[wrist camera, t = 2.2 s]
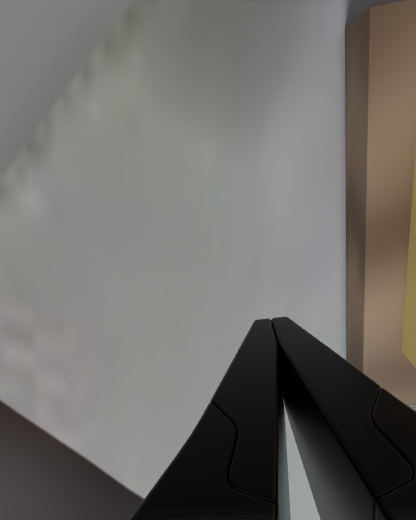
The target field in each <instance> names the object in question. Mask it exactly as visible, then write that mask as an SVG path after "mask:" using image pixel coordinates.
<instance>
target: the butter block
mask: <svg viewBox="0 0 416 520" xmlns="http://www.w3.org/2000/svg"><path fill="white" fill-rule="evenodd" d="M401 351H402V352H403V353H404V355H405V356H406V357H407V358H408V360H409V361H410V362H411V363H412V365H413V366H414V367H415V368H416V150H415V165H414V179H413V193H412V207H411V221H410V235H409V249H408V263H407V277H406V292H405V306H404V320H403V334H402V348H401Z"/></svg>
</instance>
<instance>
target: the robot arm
mask: <svg viewBox="0 0 416 520" xmlns="http://www.w3.org/2000/svg"><path fill="white" fill-rule="evenodd" d="M283 400H284V401H283ZM284 405H285V408H286V412H287V415H288V419H289V422H290V425H291V428H292V431H293V434H294V437H295V441H296V444H297V447H298V450H299V453H300V456H301V459H302V463H303V466H304V469H305V472H306V475H307V478H308V481H309V484H310V488H311V491H312V494H313V497H314V500H315V503H316V506H317V510H318V513H319V516H320V519H321V520H416V411H415V410H413V409H412V408H410V407H409V406H408V405H406V404H405V403H403V402H402V401H401V400H399V399H398V398H396V397H395V396H394V395H392V394H391V393H390V392H388V391H387V390H386V389H384V388H381V386H380V385H379V384H377V383H376V382H374V381H373V380H372V379H370V378H369V377H368V376H366V375H365V374H364V373H362V372H361V371H360V370H358V369H357V368H356V367H354V366H353V365H352V364H350V363H349V362H347V361H346V360H345V359H343V358H342V357H341V356H339V355H338V354H337V353H335V352H334V351H333V350H331V349H330V348H329V347H327V346H326V345H325V344H323V343H322V342H320V341H319V340H318V339H316V338H315V337H314V336H312V335H311V334H310V333H308V332H307V331H306V330H304V329H303V328H302V327H300V326H299V325H297V324H296V323H295V322H293V321H292V320H291V319H289V318H288V317H278V318H273V319H272V320H270V319H260V320H255V321H254V323H253V325H252V326H251V328H250V330H249V332H248V334H247V335H246V337H245V339H244V341H243V343H242V345H241V346H240V348H239V350H238V352H237V354H236V356H235V357H234V359H233V361H232V363H231V365H230V366H229V368H228V370H227V372H226V374H225V376H224V377H223V379H222V381H221V383H220V385H219V386H218V388H217V390H216V392H215V394H214V396H213V397H212V399H211V403H209V404H208V406H207V408H206V410H205V412H204V414H203V415H202V417H201V419H200V420H199V422H198V424H197V425H196V427H195V429H194V430H193V432H192V434H191V435H190V437H189V438H188V440H187V441H186V443H185V444H184V445H183V447H182V448H181V450H180V451H179V453H178V454H177V456H176V457H175V458H174V460H173V461H172V462H171V464H170V465H169V466H168V468H167V469H166V471H165V472H164V473H163V475H162V476H161V477H160V479H159V480H158V482H157V483H156V484H155V486H154V487H153V488H152V490H151V491H150V492H149V494H148V495H147V497H146V498H145V499H144V501H143V502H142V503H141V505H140V506H139V508H138V509H137V510H136V512H135V513H134V514H133V516H132V517H131V518H130V519H129V520H291V519H290V501H289V483H288V465H287V446H286V428H285V412H284Z"/></svg>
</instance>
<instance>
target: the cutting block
mask: <svg viewBox="0 0 416 520" xmlns="http://www.w3.org/2000/svg"><path fill="white" fill-rule="evenodd" d="M345 53H346V290H347V362H349V363H350V364H352V365H353V366H354V367H356V368H357V369H358V370H360V371H361V372H362V373H364V374H365V375H366V376H368V377H369V378H370V379H372V380H373V381H374V382H376V383H377V384H379V385H380V386H381V388H384V389H386V390H387V391H388V392H390V393H391V394H392V395H394V396H395V397H396V398H398V399H399V400H401V401H402V402H403V403H405V404H406V405H412V404H416V368H415V367H414V366H413V365H412V363H411V362H410V361H409V360H408V358H407V357H406V356H405V355H404V353H403V352H402V351H401V348H402V334H403V320H404V306H405V292H406V277H407V263H408V249H409V235H410V221H411V207H412V193H413V179H414V165H415V150H416V0H403V1H398V2H393V3H388V4H383V5H378V6H373V7H370V8H368V9H367V10H366V11H365V12H364V13H362V14H361V15H360V16H359V17H358V18H357V19H355V20H354V21H353V22H352V23H351V24H349V25H348V26H347V27H346V28H345Z"/></svg>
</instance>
